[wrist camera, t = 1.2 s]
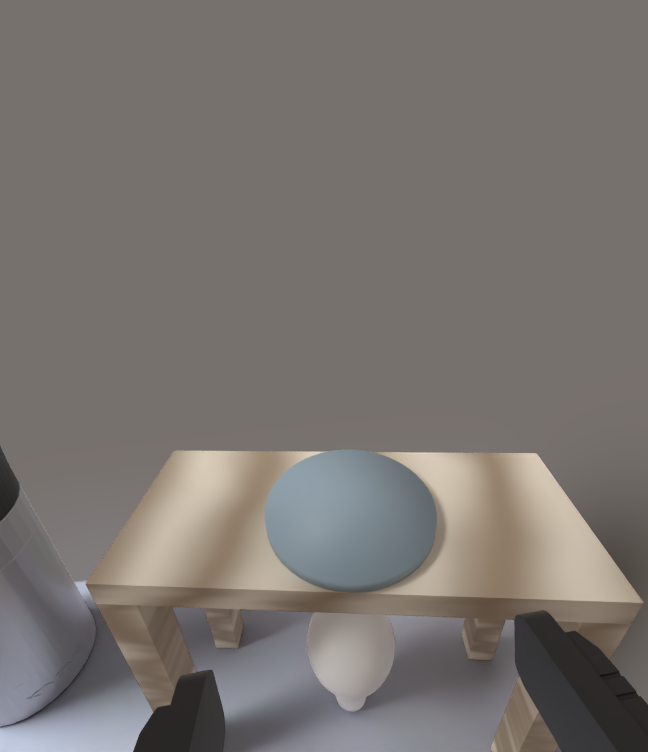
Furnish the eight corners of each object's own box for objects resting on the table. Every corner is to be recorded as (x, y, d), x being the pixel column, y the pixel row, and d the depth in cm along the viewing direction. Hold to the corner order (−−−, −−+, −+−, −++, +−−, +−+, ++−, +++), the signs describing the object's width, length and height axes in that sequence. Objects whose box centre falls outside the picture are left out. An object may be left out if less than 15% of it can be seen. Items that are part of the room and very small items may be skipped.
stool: (182, 765, 26) (80, 575, 16) (223, 623, 34) (172, 443, 25) (532, 789, 24) (649, 593, 15) (484, 634, 33) (538, 445, 23)
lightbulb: (385, 760, 26) (393, 681, 21) (303, 734, 27) (291, 653, 22) (392, 663, 31) (400, 581, 26) (323, 645, 32) (317, 564, 27)
